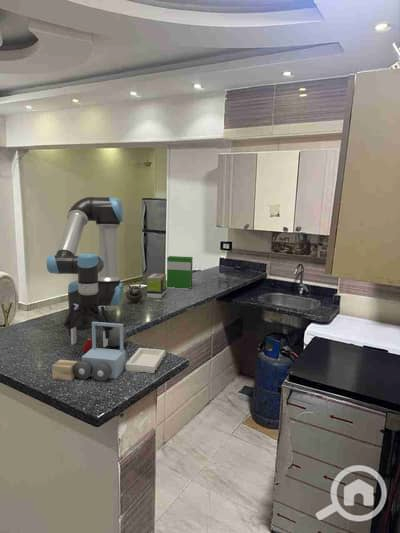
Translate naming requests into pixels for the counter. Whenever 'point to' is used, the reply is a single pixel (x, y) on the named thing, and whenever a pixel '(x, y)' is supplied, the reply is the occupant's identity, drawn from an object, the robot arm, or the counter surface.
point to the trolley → (102, 359)
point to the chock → (64, 370)
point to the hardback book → (179, 272)
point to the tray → (145, 360)
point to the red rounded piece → (87, 346)
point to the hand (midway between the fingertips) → (89, 344)
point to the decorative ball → (115, 337)
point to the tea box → (156, 285)
